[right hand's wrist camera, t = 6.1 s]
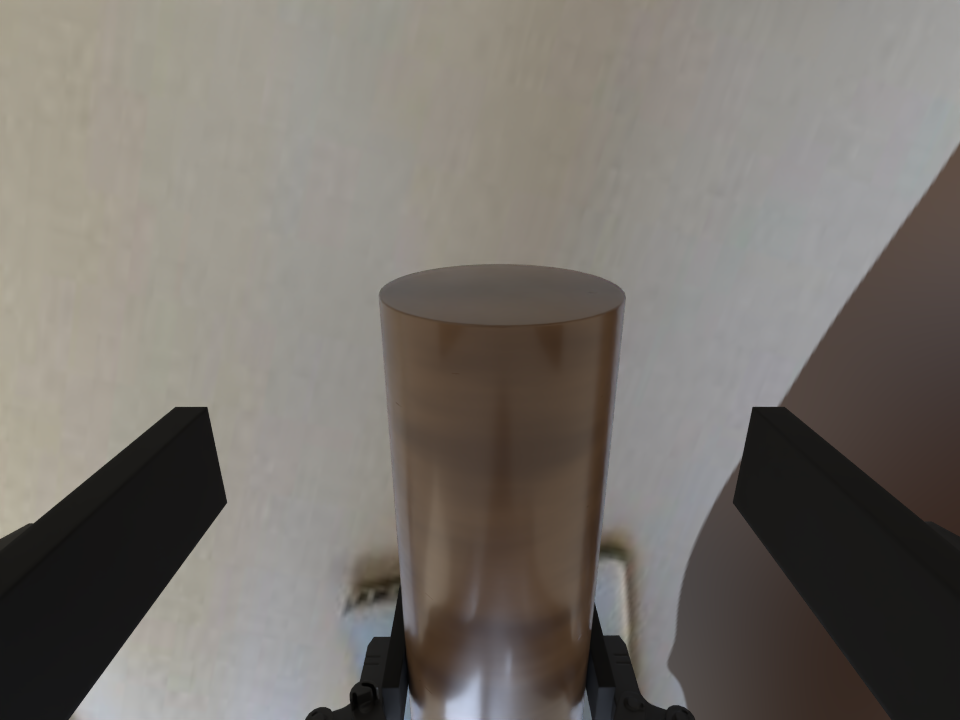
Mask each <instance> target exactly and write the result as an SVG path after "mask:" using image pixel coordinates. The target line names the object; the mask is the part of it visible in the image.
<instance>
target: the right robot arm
mask: <svg viewBox="0 0 960 720" xmlns="http://www.w3.org/2000/svg"><path fill="white" fill-rule="evenodd" d="M226 504H227V500H226V495H225V490H224V485H223V480H222V475H221V471H220V466H219V461H218V456H217V451H216V447H215V442H214V437H213V432H212V427H211V423H210V418H209V413H208V408H207V407H175V408H174V409H172V410H171V411H170V412H169V413H168V414H166V415H165V416H164V417H163V418H161V419H160V420H159V421H158V422H157V423H155V424H154V425H153V426H152V427H150V428H149V429H148V430H147V431H146V432H144V433H143V434H142V435H141V436H140V437H138V438H137V439H136V440H135V441H133V442H132V443H131V444H130V445H129V446H127V447H126V448H125V449H124V450H122V451H121V452H120V453H119V454H118V455H116V456H115V457H114V458H113V459H112V460H110V461H109V462H108V463H107V464H105V465H104V466H103V467H102V468H101V469H99V470H98V471H97V472H96V473H95V474H93V475H92V476H91V477H90V478H88V479H87V480H86V481H85V482H84V483H82V484H81V485H80V486H79V487H77V488H76V489H75V490H74V491H73V492H71V493H70V494H69V495H68V496H67V497H65V498H64V499H63V500H62V501H60V502H59V503H58V504H57V505H56V506H54V507H53V508H52V509H51V510H49V511H48V512H47V513H46V514H45V515H43V516H42V517H41V518H40V519H39V520H37V521H36V522H35V523H29V524H27V525H25V526H24V527H22V528H20V529H18V530H16V531H14V532H12V533H11V534H9V535H7V536H5V537H3V538H1V539H0V720H69V718H70V717H71V716H72V714H73V713H74V711H75V710H76V709H77V707H78V706H79V705H80V703H81V702H82V701H83V699H84V698H85V696H86V695H87V694H88V692H89V691H90V690H91V688H92V687H93V685H94V684H95V683H96V681H97V680H98V679H99V677H100V676H101V675H102V673H103V672H104V670H105V669H106V668H107V666H108V665H109V664H110V662H111V661H112V659H113V658H114V657H115V655H116V654H117V653H118V651H119V650H120V649H121V647H122V646H123V644H124V643H125V642H126V640H127V639H128V638H129V636H130V635H131V633H132V632H133V631H134V629H135V628H136V627H137V625H138V624H139V623H140V621H141V620H142V618H143V617H144V616H145V614H146V613H147V612H148V610H149V609H150V608H151V606H152V605H153V603H154V602H155V601H156V599H157V598H158V597H159V595H160V594H161V592H162V591H163V590H164V588H165V587H166V586H167V584H168V583H169V582H170V580H171V579H172V577H173V576H174V575H175V573H176V572H177V571H178V569H179V568H180V566H181V565H182V564H183V562H184V561H185V560H186V558H187V557H188V556H189V554H190V553H191V551H192V550H193V549H194V547H195V546H196V545H197V543H198V542H199V540H200V539H201V538H202V536H203V535H204V534H205V532H206V531H207V530H208V528H209V527H210V525H211V524H212V523H213V521H214V520H215V519H216V517H217V516H218V514H219V513H220V512H221V510H222V509H223V508H224V506H225V505H226ZM733 504H734V505H735V506H736V508H737V509H738V510H739V512H740V513H741V514H742V516H743V517H744V519H745V520H746V521H747V523H748V524H749V525H750V527H751V528H752V530H753V531H754V532H755V534H756V535H757V536H758V538H759V539H760V540H761V542H762V543H763V545H764V546H765V547H766V549H767V550H768V551H769V553H770V554H771V556H772V557H773V558H774V560H775V561H776V562H777V564H778V565H779V566H780V568H781V569H782V571H783V572H784V573H785V575H786V576H787V577H788V579H789V580H790V581H791V583H792V584H793V586H794V587H795V588H796V590H797V591H798V592H799V594H800V595H801V597H802V598H803V599H804V601H805V602H806V603H807V605H808V606H809V608H810V609H811V610H812V612H813V613H814V614H815V616H816V617H817V618H818V620H819V621H820V623H821V624H822V625H823V627H824V628H825V629H826V631H827V632H828V633H829V635H830V636H831V638H832V639H833V640H834V642H835V643H836V644H837V646H838V647H839V649H840V650H841V651H842V653H843V654H844V655H845V657H846V658H847V659H848V661H849V662H850V664H851V665H852V666H853V668H854V669H855V670H856V672H857V673H858V674H859V676H860V677H861V679H862V680H863V681H864V683H865V684H866V685H867V687H868V688H869V690H870V691H871V692H872V694H873V695H874V696H875V698H876V699H877V701H878V702H879V703H880V705H881V706H882V707H883V709H884V710H885V711H886V713H887V714H888V716H889V717H890V718H891V720H960V537H959V536H957V535H955V534H954V533H952V532H950V531H948V530H946V529H944V528H942V527H940V526H939V525H937V524H935V523H933V522H924V521H923V520H921V519H920V518H919V517H918V516H917V515H915V514H914V513H913V512H912V511H911V510H909V509H908V508H907V507H906V506H904V505H903V504H902V503H901V502H900V501H898V500H897V499H896V498H895V497H893V496H892V495H891V494H890V493H889V492H887V491H886V490H885V489H884V488H882V487H881V486H880V485H879V484H878V483H876V482H875V481H874V480H873V479H872V478H870V477H869V476H868V475H867V474H865V473H864V472H863V471H862V470H861V469H859V468H858V467H857V466H856V465H855V464H853V463H852V462H851V461H850V460H848V459H847V458H846V457H845V456H844V455H842V454H841V453H840V452H839V451H838V450H836V449H835V448H834V447H833V446H831V445H830V444H829V443H828V442H827V441H825V440H824V439H823V438H822V437H820V436H819V435H818V434H817V433H816V432H814V431H813V430H812V429H811V428H809V427H808V426H807V425H806V424H805V423H803V422H802V421H801V420H800V419H799V418H797V417H796V416H795V415H794V414H792V413H791V412H790V411H789V410H788V409H786V408H785V407H753V408H752V413H751V418H750V423H749V427H748V432H747V437H746V442H745V447H744V451H743V456H742V461H741V466H740V471H739V475H738V480H737V485H736V490H735V495H734V500H733Z"/></svg>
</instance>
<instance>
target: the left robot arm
mask: <svg viewBox="0 0 960 720" xmlns="http://www.w3.org/2000/svg"><path fill="white" fill-rule="evenodd" d="M407 690H408V672H407V658H406V645H405V632H404V619H403V606H402V593H401V582H400V588H399V593H398V599H397V604H396V610H395V615H394V621H393V626H392V632H391V637H374V638H373V639H372V640H371V642H370V643H369V645H368V647H367V652H366V657H365V661H364V665H363V670H362V674H361V679H360V682H358V683H357V684H355V685H354V687H353V688H352V689H351V692H350V704H349V705H347V706H346V707H344V708H342V709H339V710H336V711H333V712H332V711H331V710H330V709H329V708H326V707H320V708H317V709H314V710H313V711H312V712H310V713H309V714H308V716H307V717H306V719H305V720H404V713H405V705H406V697H407ZM586 691H587V696H588V701H589V706H590V711H591V716H592V720H695V718H694V716H693V715H692V713H691V712H690V711H689V710H687V709H686V708H685V707H682V706H679V705H673V706H671V707H669V708H668V709H667V710H665V709H662V708H659V707H656V706H654V705H651V704H650V703H648V702H647V701H646V700H645V699H644V698H643V696H642V695H641V693H640V691H639V688H638V684H637V681H636V677H635V674H634V671H633V667H632V664H631V661H630V657H629V654H628V650H627V647H626V644H625V643H624V641H623V640H622V639H621V637H620V636H619V635H615V636H603V633H602V629H601V625H600V622H599V618H598V614H597V610H596V606H595V602H594V611H593V620H592V630H591V640H590V649H589V659H588V669H587V678H586Z"/></svg>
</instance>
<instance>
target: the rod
mask: <svg viewBox="0 0 960 720" xmlns="http://www.w3.org/2000/svg"><path fill="white" fill-rule="evenodd" d="M625 300H626V297H625V293H624V291H623V290H622V289H621V288H620V287H619V286H617V285H616V284H614V283H612V282H610V281H608V280H606V279H603V278H601V277H597V276H594V275H591V274H587V273H583V272H578V271H573V270H567V269H561V268H553V267H544V266H532V265H512V264H485V265H466V266H454V267H445V268H438V269H432V270H426V271H421V272H417V273H413V274H409V275H406V276H403V277H400V278H397V279H395V280H393V281H391V282H389V283H388V284H386V285H385V286H384V287H383V288H382V289H381V291H380V293H379V303H380V316H381V329H382V342H383V355H384V369H385V382H386V395H387V408H388V421H389V435H390V448H391V461H392V474H393V487H394V500H395V514H396V527H397V540H398V553H399V566H400V579H401V593H402V606H403V619H404V632H405V645H406V658H407V672H408V685H409V698H410V711H411V720H582V717H583V708H584V698H585V688H586V678H587V669H588V659H589V649H590V640H591V630H592V620H593V611H594V601H595V591H596V582H597V572H598V562H599V552H600V543H601V533H602V523H603V514H604V504H605V494H606V485H607V475H608V465H609V456H610V446H611V436H612V426H613V417H614V407H615V397H616V388H617V378H618V368H619V359H620V349H621V339H622V329H623V320H624V310H625Z"/></svg>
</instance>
